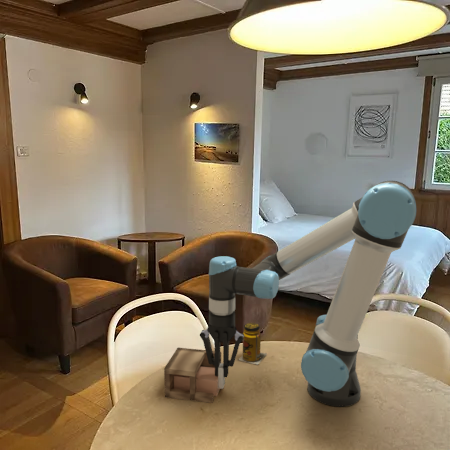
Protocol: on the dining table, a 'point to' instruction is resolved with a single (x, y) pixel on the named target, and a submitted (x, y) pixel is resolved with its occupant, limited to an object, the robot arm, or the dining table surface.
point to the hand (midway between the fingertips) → (221, 385)
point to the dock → (186, 374)
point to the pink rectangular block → (199, 381)
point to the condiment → (252, 344)
